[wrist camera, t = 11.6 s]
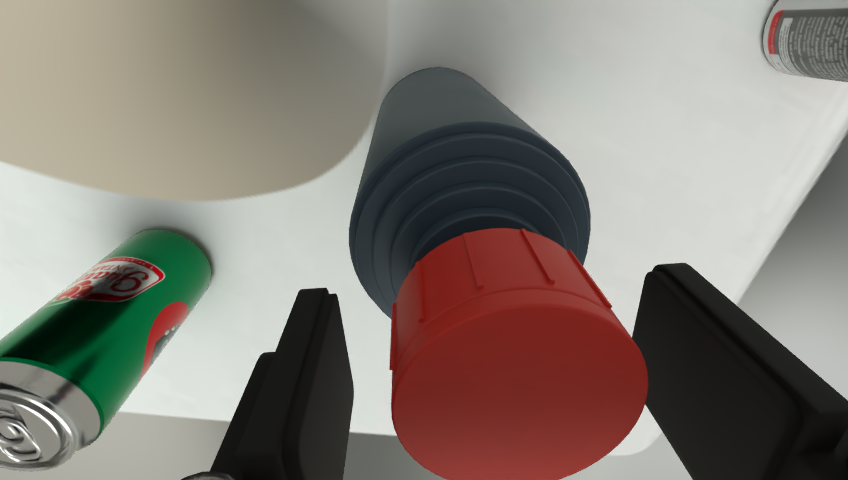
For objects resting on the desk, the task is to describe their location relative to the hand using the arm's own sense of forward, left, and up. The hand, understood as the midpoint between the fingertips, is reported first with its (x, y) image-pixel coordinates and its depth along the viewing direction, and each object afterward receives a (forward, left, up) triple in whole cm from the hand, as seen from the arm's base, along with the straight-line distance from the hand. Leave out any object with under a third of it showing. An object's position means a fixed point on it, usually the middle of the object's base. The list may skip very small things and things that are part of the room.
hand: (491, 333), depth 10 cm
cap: (-1, +1, +3) cm, 3 cm away
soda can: (-7, -16, -16) cm, 23 cm away
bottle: (-1, +1, -15) cm, 16 cm away
